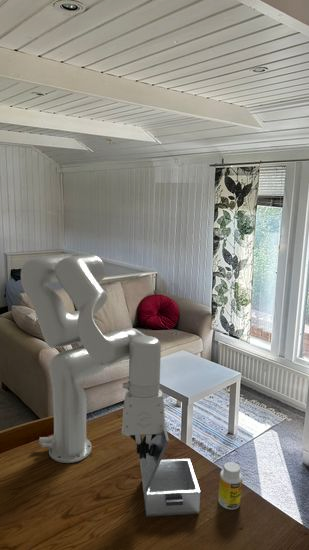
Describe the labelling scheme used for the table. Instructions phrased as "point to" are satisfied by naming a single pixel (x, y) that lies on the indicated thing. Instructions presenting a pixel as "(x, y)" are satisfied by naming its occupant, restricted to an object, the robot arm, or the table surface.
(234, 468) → the supplement bottle
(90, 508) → the table surface
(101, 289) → the robot arm
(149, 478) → the lid
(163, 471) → the cooker pot
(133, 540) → the table surface
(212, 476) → the table surface
